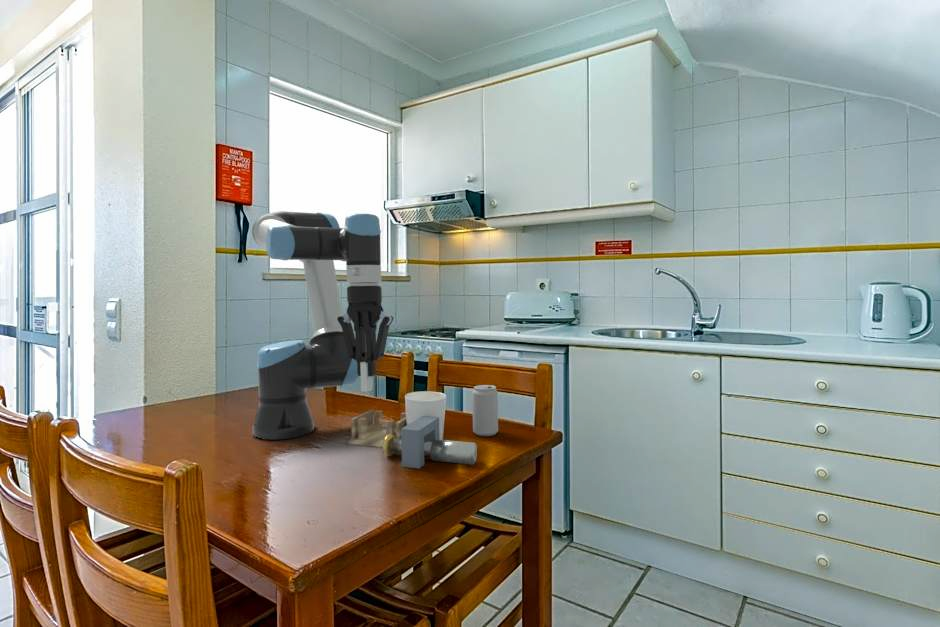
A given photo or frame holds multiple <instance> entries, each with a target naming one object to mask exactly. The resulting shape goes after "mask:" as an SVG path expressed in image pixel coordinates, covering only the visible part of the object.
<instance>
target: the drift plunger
mask: <svg viewBox="0 0 940 627" xmlns="http://www.w3.org/2000/svg"><path fill="white" fill-rule="evenodd" d="M431 445H432V442H430V441H424V457H425V456H427V457H431V455H430V449H431ZM381 448H382V453H383V454H384V455H385V456H392V455H393V454H394V453H399V454H402V443H401V439H398V438H396V437H395V435H393V434H387V435H386V436H385V438H384V440H383V445H382V447H381Z"/></svg>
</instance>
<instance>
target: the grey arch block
mask: <svg viewBox="0 0 940 627" xmlns="http://www.w3.org/2000/svg"><path fill="white" fill-rule="evenodd" d="M435 439H439V417H428V416H422V417H420V418H419V419H417V420H415V421H414V422H412V423H410V424H409V425H407V426H405V427H403V428H402V429H401V443H402V453H401V466H402V467H403V468H411V469H419V470H420V469H421V468H422V467H423V466H425V455H424V441H430V442H433V440H435Z"/></svg>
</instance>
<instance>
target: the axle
mask: <svg viewBox="0 0 940 627" xmlns="http://www.w3.org/2000/svg"><path fill="white" fill-rule="evenodd" d="M430 455H431V456H430V459H431V460H432V461H433V462H443V463H451V464H452V463H455V464H463V465H474V464H475V463H476V461H477V458H478V457H477V456H478V445H477V443H476V442H470V441H459V440H458V441H457V440H448V439H443V440H439V439H435V440H433V442H432V445H431V449H430Z"/></svg>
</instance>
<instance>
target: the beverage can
mask: <svg viewBox="0 0 940 627" xmlns="http://www.w3.org/2000/svg"><path fill="white" fill-rule="evenodd" d="M471 393H472V394H471V402H472V432H473V433H475V435H477V436H479V437H490V436H491V437H492V436H495V435H496V434H497V433H498V431H499V407H498V405H499V400H498V390H497V386H495V385H490V384H479V385H475V386H473V390H472V392H471Z"/></svg>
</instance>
